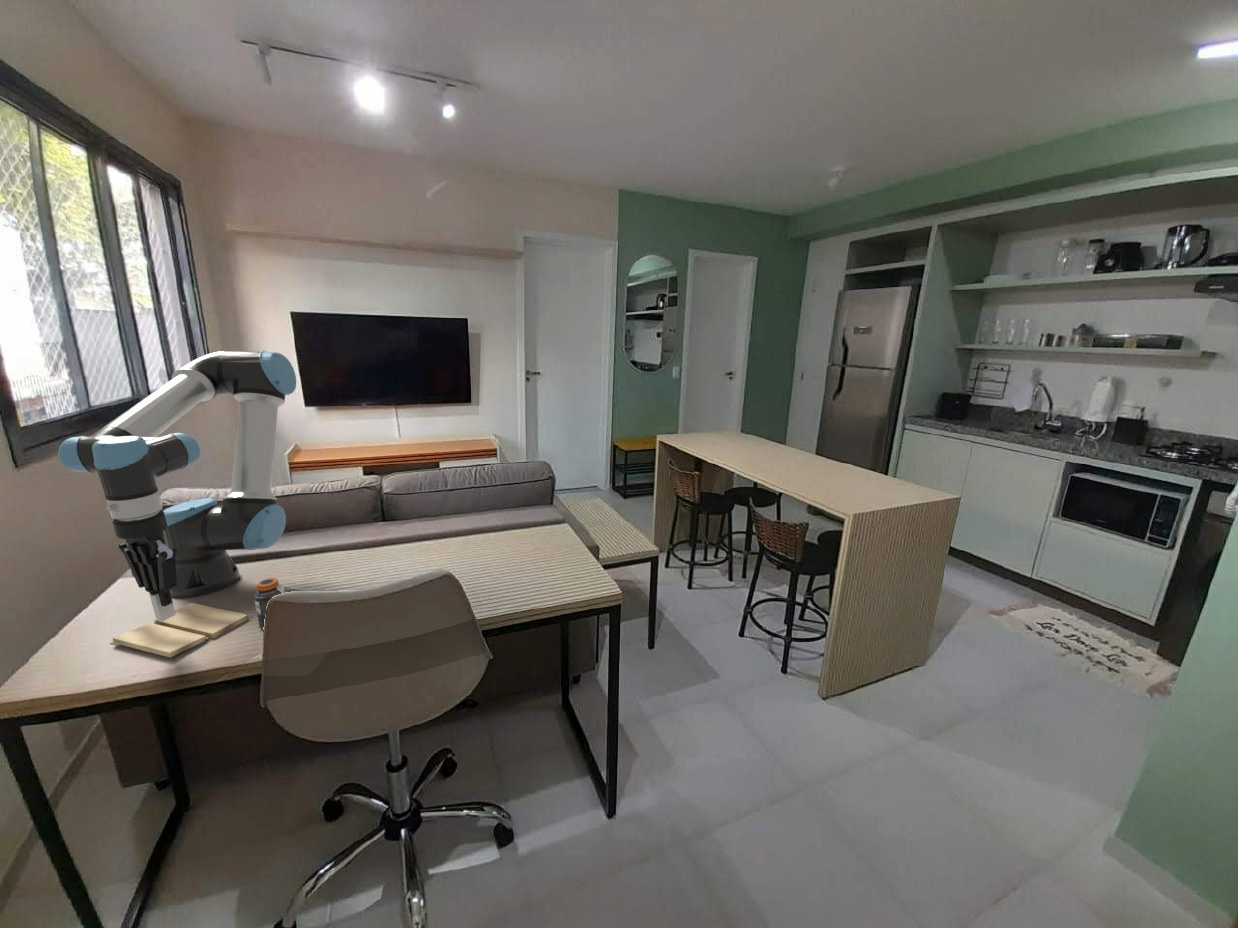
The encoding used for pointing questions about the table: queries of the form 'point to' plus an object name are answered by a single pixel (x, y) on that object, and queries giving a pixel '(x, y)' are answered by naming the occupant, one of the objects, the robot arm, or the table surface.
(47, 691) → the table surface
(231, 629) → the underlay mat
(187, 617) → the floor board
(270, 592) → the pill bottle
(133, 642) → the board
